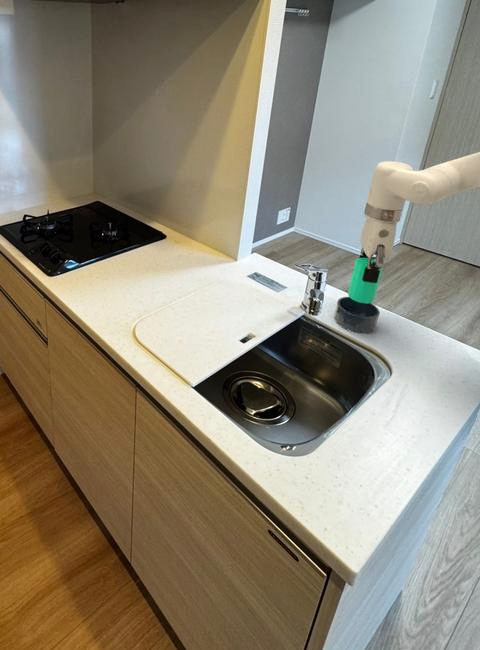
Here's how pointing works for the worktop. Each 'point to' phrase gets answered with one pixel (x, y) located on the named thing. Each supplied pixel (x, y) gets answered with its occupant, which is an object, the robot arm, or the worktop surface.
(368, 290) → the candle
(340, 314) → the bowl
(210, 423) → the worktop surface
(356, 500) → the worktop surface
